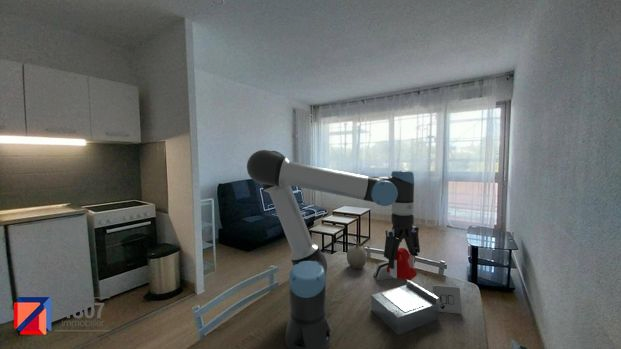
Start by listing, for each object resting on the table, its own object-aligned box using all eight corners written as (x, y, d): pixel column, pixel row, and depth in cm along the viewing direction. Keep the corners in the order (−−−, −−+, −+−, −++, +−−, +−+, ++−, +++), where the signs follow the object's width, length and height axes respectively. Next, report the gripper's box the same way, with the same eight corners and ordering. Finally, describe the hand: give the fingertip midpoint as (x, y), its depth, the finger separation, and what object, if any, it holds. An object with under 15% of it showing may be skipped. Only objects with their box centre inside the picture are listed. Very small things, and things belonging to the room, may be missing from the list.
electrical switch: (434, 312, 88) (434, 287, 88) (430, 305, 93) (430, 281, 93) (462, 315, 86) (461, 289, 86) (456, 307, 91) (456, 283, 91)
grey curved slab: (402, 271, 119) (406, 256, 116) (407, 278, 115) (412, 263, 111) (372, 275, 116) (375, 259, 112) (376, 282, 112) (380, 267, 108)
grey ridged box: (397, 335, 76) (397, 311, 76) (371, 310, 89) (371, 290, 89) (438, 319, 84) (438, 297, 83) (408, 298, 97) (408, 279, 96)
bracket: (417, 276, 84) (418, 249, 83) (409, 282, 80) (410, 254, 79) (395, 268, 91) (395, 243, 90) (386, 273, 86) (386, 247, 86)
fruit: (364, 274, 117) (364, 245, 116) (343, 269, 123) (343, 241, 122) (370, 266, 126) (370, 239, 125) (351, 261, 132) (350, 235, 131)
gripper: (387, 218, 76) (387, 285, 78) (431, 212, 84) (431, 272, 86) (372, 214, 83) (372, 275, 85) (415, 208, 91) (414, 264, 93)
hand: (402, 274), depth 85 cm, fingers closed on bracket, 8 cm apart
